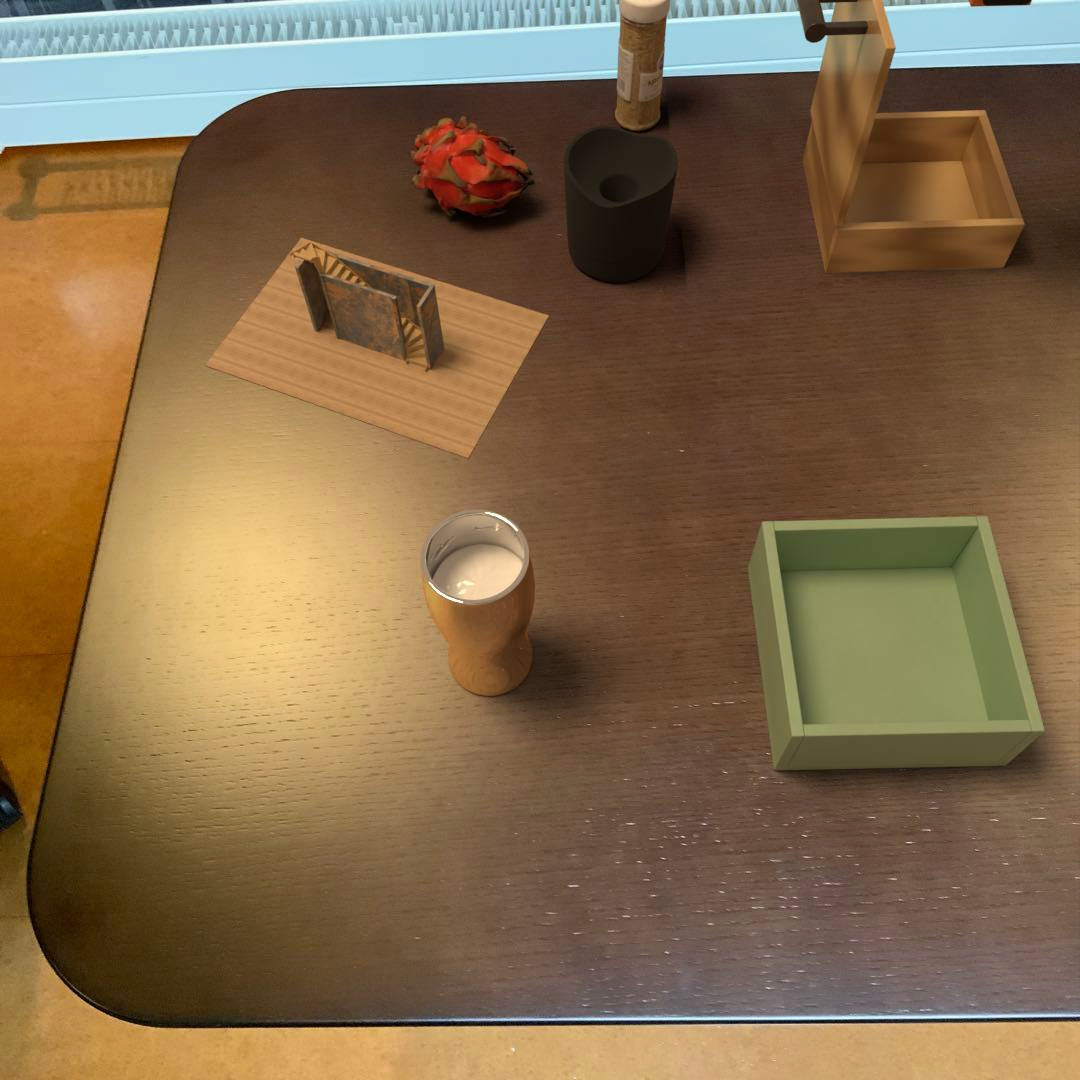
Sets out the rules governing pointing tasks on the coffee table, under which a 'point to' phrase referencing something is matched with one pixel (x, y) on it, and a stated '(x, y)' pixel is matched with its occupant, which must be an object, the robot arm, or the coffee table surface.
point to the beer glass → (481, 598)
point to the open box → (888, 645)
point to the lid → (847, 87)
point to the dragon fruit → (468, 168)
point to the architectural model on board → (381, 345)
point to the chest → (920, 197)
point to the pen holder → (618, 201)
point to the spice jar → (640, 62)
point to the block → (977, 1)
